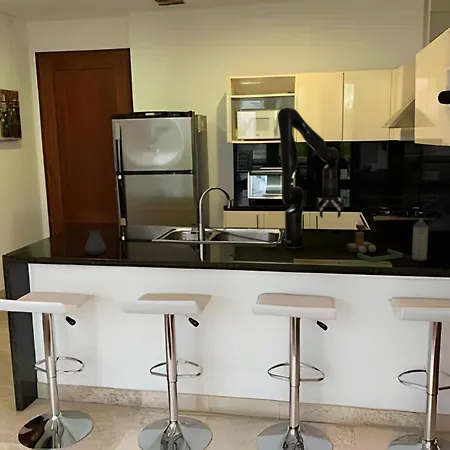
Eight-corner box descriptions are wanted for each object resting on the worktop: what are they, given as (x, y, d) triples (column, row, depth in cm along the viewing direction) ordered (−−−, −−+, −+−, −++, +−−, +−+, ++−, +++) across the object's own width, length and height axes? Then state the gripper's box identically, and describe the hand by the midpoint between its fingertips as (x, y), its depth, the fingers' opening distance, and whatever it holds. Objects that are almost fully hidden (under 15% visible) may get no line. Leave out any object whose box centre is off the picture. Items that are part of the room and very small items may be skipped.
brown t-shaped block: (346, 250, 283) (346, 233, 282) (366, 248, 288) (366, 230, 286) (351, 252, 279) (351, 234, 277) (372, 249, 284) (372, 232, 282)
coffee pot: (104, 255, 285) (102, 227, 282) (82, 256, 285) (80, 228, 282) (111, 246, 306) (110, 221, 303) (91, 247, 306) (89, 221, 303)
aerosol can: (423, 257, 265) (424, 217, 262) (429, 260, 258) (431, 219, 255) (409, 257, 265) (411, 218, 261) (415, 261, 258) (417, 220, 255)
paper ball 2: (366, 251, 279) (366, 244, 279) (372, 251, 281) (373, 243, 280) (371, 253, 276) (371, 245, 275) (377, 252, 277) (377, 245, 276)
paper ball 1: (356, 253, 277) (357, 245, 276) (363, 252, 279) (363, 244, 278) (361, 254, 273) (361, 247, 273) (368, 253, 275) (368, 246, 274)
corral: (356, 256, 269) (357, 252, 269) (388, 252, 276) (388, 248, 276) (371, 261, 259) (371, 257, 259) (403, 257, 266) (403, 253, 266)
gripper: (344, 185, 279) (344, 216, 281) (316, 186, 282) (316, 216, 285) (344, 187, 272) (343, 218, 274) (315, 187, 275) (315, 218, 277)
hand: (330, 217), depth 279 cm, fingers open, 8 cm apart
